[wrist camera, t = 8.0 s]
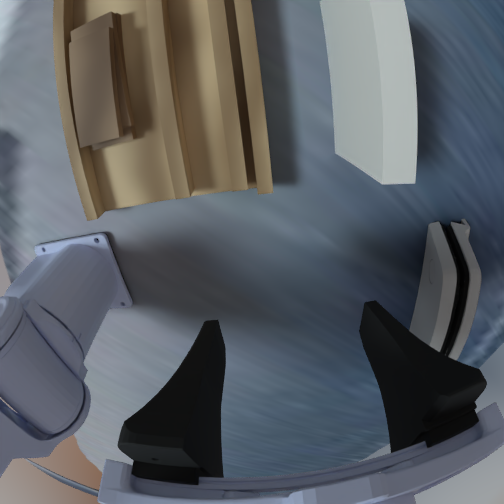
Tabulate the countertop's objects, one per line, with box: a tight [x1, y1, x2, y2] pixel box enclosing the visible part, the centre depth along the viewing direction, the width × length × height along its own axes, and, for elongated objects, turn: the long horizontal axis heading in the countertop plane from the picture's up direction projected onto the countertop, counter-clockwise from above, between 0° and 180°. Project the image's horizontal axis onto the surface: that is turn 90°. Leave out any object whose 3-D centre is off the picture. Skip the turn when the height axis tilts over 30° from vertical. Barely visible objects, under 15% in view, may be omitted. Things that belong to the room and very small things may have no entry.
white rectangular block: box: [320, 0, 417, 184], centre depth 13 cm, size 2×12×8 cm, turn 7°
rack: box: [53, 0, 273, 221], centre depth 14 cm, size 14×20×3 cm
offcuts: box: [69, 11, 137, 151], centre depth 14 cm, size 4×10×2 cm, turn 6°
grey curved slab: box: [409, 219, 481, 360], centre depth 23 cm, size 17×5×10 cm, turn 11°
